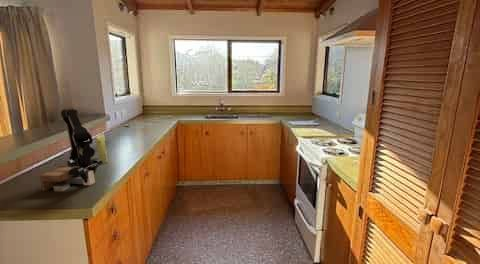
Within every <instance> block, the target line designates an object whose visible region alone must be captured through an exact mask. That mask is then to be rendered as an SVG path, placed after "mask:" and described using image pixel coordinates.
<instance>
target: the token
mask: <svg viewBox="0 0 480 264" xmlns="http://www.w3.org/2000/svg"><path fill="white" fill-rule="evenodd" d="M52 188H53V191H54V192H64V191H66V190H68V189H70V188H71V185H70V183H69V182H65V181H63V182H60V183H58V184H56V185H55V186H53V187H52Z"/></svg>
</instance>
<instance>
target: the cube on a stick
mask: <svg viewBox="0 0 480 264" xmlns="http://www.w3.org/2000/svg"><path fill="white" fill-rule="evenodd" d="M86 171H88V181H87V183H85V182H84V181H83V179H82V178H81V177H70V178H68V179H66V180H65V181H64V182H69V183H70V184H71V185H72V184H73V185H75V184H77V185H83V186H91V185H93V184H95V183H96V180H95V174H94V173H93V170H87V169H86Z"/></svg>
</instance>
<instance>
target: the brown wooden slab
mask: <svg viewBox="0 0 480 264" xmlns="http://www.w3.org/2000/svg"><path fill="white" fill-rule="evenodd" d="M74 167H75V166H74ZM74 167H69V166H68V165H60V166H58V167H56V168H54V169H51V170H48V171H47V172H44V173H42V174H39V181H40V184H41V185H40V186H41V189H42V192H46V191H48V190H49V189H50V190H51V189H52V188H54V187H53V186H55V185H56V184H58V183H60V182H65V180H66V179H68V178H70V177H81V176H80V175H69V170H70V169H72V168H74Z"/></svg>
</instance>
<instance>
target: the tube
mask: <svg viewBox="0 0 480 264" xmlns="http://www.w3.org/2000/svg"><path fill="white" fill-rule="evenodd" d="M94 139H95V142H96V148H97V149H96V150H97V154H98V159H101V160H102V164H106V163H108V161H109V160H108V155H107V147H106V146H107V145H106V138H105V133H101V134H99V135H95V136H94Z"/></svg>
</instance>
